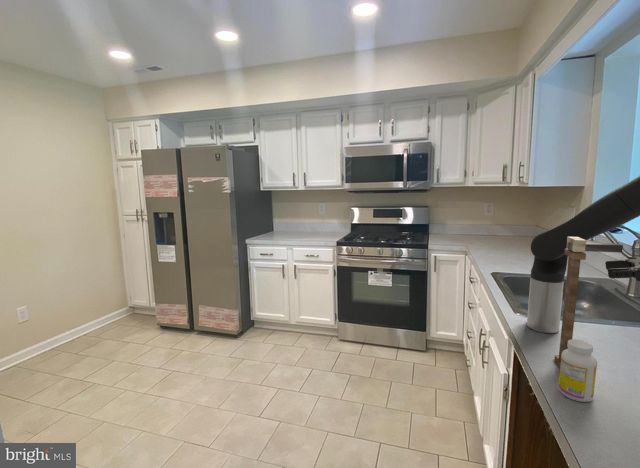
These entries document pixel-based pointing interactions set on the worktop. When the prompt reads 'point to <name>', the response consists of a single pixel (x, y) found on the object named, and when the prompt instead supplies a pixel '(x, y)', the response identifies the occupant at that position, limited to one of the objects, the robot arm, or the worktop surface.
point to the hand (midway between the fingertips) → (606, 269)
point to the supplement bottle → (578, 371)
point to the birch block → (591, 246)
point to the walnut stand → (569, 299)
